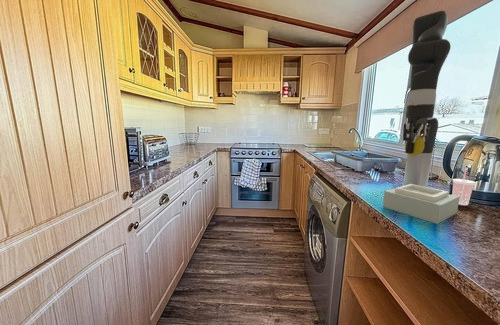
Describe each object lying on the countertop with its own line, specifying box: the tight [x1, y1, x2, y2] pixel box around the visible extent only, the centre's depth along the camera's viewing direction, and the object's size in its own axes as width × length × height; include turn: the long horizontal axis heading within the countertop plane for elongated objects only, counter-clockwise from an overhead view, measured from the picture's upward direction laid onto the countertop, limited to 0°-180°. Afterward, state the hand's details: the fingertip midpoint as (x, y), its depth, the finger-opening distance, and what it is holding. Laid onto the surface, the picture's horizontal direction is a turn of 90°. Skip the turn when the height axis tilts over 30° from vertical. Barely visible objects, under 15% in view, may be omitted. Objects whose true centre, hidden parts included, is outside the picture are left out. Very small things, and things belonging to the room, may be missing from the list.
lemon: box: [404, 136, 425, 157], centre depth 76 cm, size 6×6×8 cm
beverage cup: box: [451, 167, 476, 206], centre depth 81 cm, size 6×6×14 cm
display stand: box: [382, 184, 460, 225], centre depth 75 cm, size 16×16×7 cm
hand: (413, 152), depth 76 cm, fingers closed on lemon, 5 cm apart
